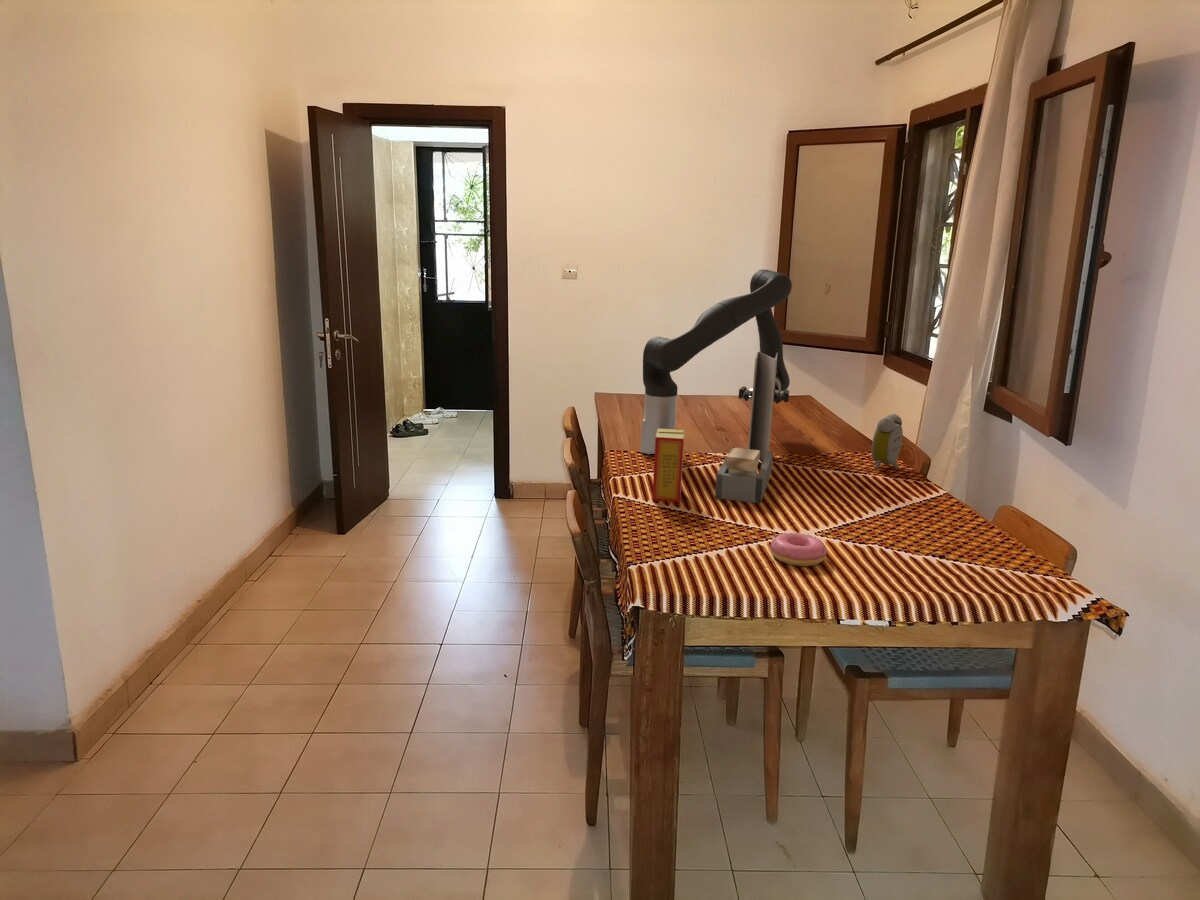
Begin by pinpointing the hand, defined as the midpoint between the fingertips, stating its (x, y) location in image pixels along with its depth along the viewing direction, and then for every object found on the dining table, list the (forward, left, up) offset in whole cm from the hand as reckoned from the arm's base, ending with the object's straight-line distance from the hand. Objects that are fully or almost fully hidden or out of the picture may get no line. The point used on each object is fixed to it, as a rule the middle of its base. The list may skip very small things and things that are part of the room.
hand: (761, 398), depth 231 cm
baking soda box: (-17, -44, -18) cm, 51 cm away
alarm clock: (+36, +4, -18) cm, 40 cm away
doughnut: (+16, -74, -18) cm, 77 cm away
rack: (0, -28, -18) cm, 33 cm away
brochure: (0, -1, -18) cm, 18 cm away
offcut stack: (0, -35, -18) cm, 39 cm away
